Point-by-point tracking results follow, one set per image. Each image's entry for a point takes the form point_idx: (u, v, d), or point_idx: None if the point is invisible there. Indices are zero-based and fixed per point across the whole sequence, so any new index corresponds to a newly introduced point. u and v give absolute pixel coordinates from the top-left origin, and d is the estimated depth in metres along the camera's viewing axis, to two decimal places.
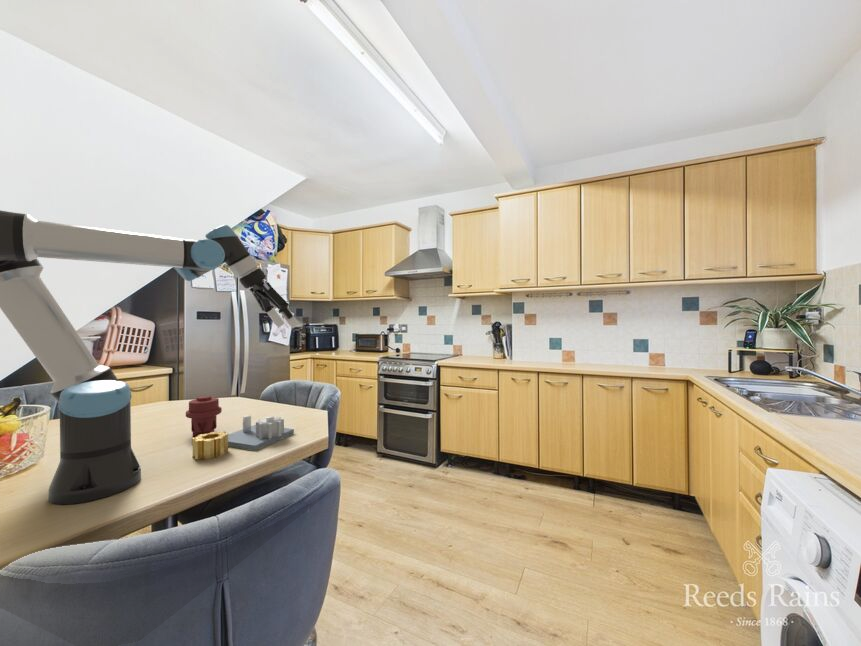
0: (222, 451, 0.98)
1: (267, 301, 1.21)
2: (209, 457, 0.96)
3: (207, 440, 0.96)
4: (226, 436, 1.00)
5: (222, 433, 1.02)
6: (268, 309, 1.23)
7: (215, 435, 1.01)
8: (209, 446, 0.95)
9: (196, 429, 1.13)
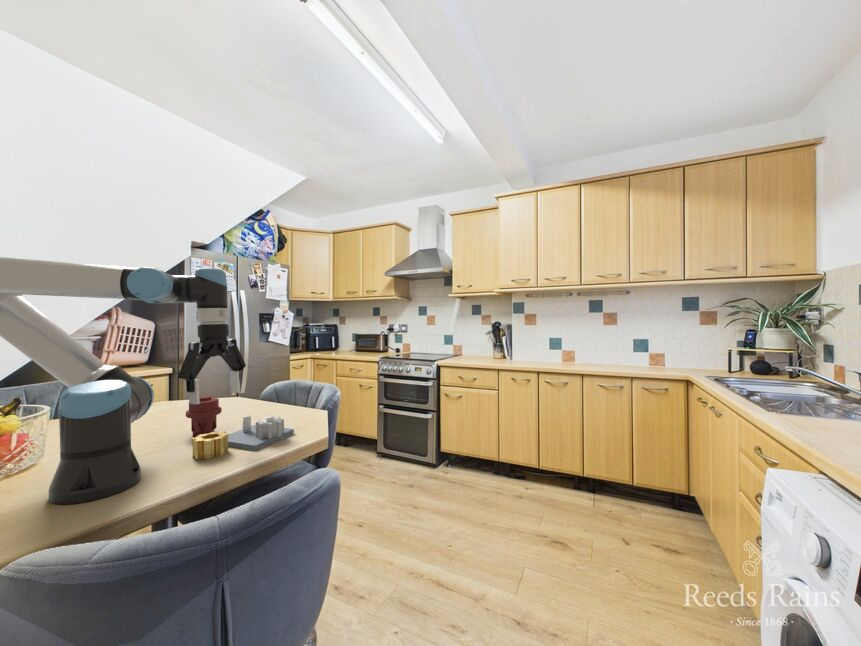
0: (222, 451, 0.98)
1: (229, 361, 1.04)
2: (209, 457, 0.96)
3: (207, 440, 0.96)
4: (226, 436, 1.00)
5: (222, 433, 1.02)
6: (234, 369, 1.07)
7: (215, 435, 1.01)
8: (209, 446, 0.95)
9: (196, 429, 1.13)
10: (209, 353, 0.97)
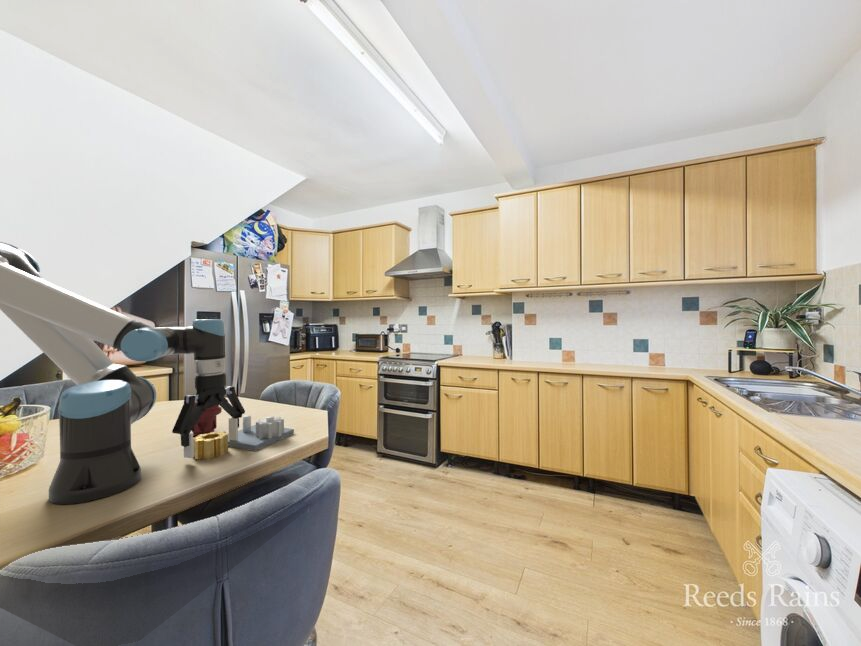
0: (222, 451, 0.98)
1: (227, 409, 1.04)
2: (209, 457, 0.96)
3: (207, 440, 0.96)
4: (226, 436, 1.00)
5: (222, 433, 1.02)
6: (233, 416, 1.06)
7: (215, 435, 1.01)
8: (209, 446, 0.95)
9: (196, 429, 1.13)
10: (205, 405, 0.96)
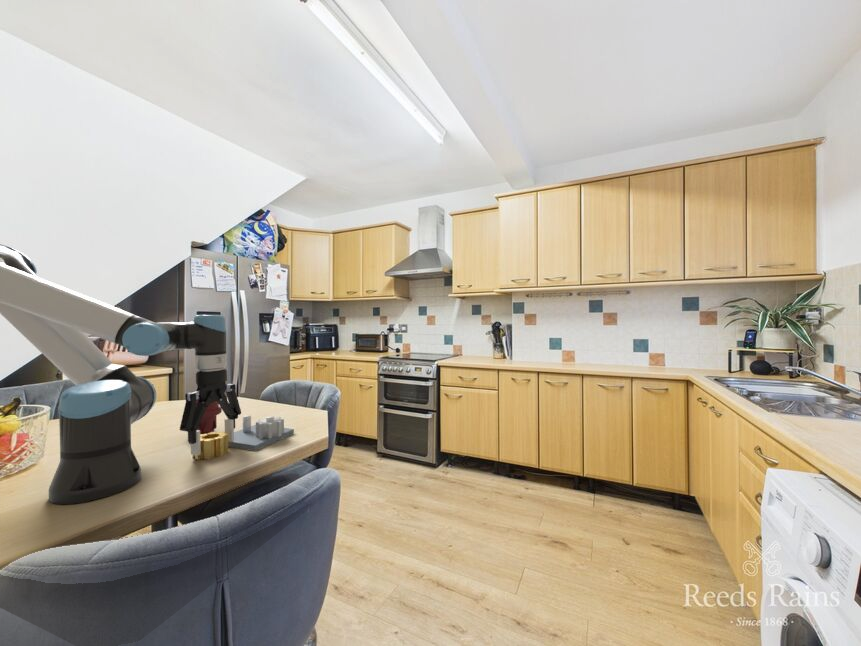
0: (222, 451, 0.98)
1: (225, 407, 1.03)
2: (209, 457, 0.96)
3: (207, 440, 0.96)
4: (226, 436, 1.01)
5: (222, 433, 1.02)
6: (229, 417, 1.05)
7: (215, 435, 1.01)
8: (209, 446, 0.96)
9: None
10: (207, 401, 0.96)
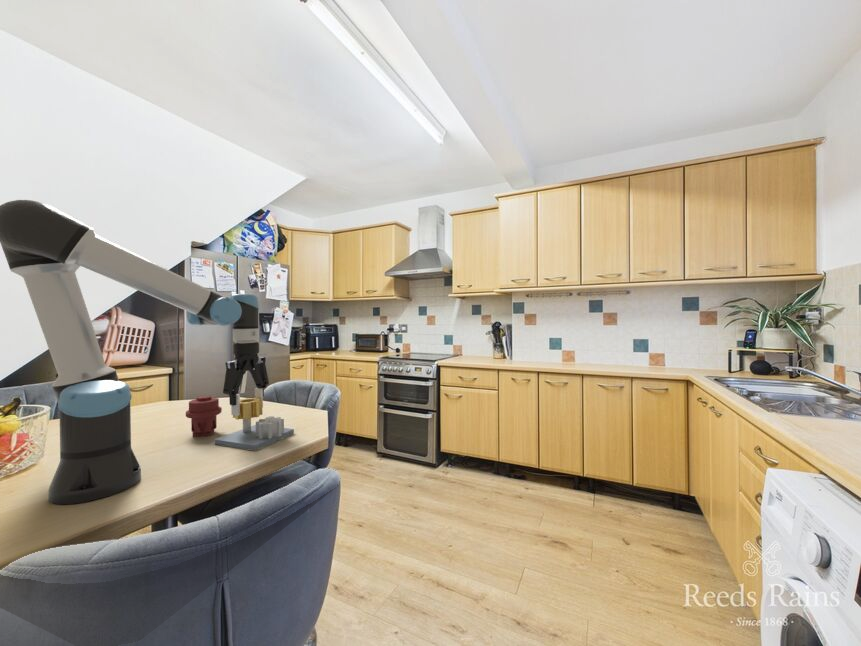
0: (258, 413, 1.13)
1: (256, 377, 1.17)
2: (247, 417, 1.11)
3: (245, 403, 1.11)
4: (261, 401, 1.16)
5: (257, 398, 1.17)
6: (259, 386, 1.19)
7: (251, 400, 1.16)
8: (247, 408, 1.11)
9: (196, 429, 1.13)
10: (244, 369, 1.11)
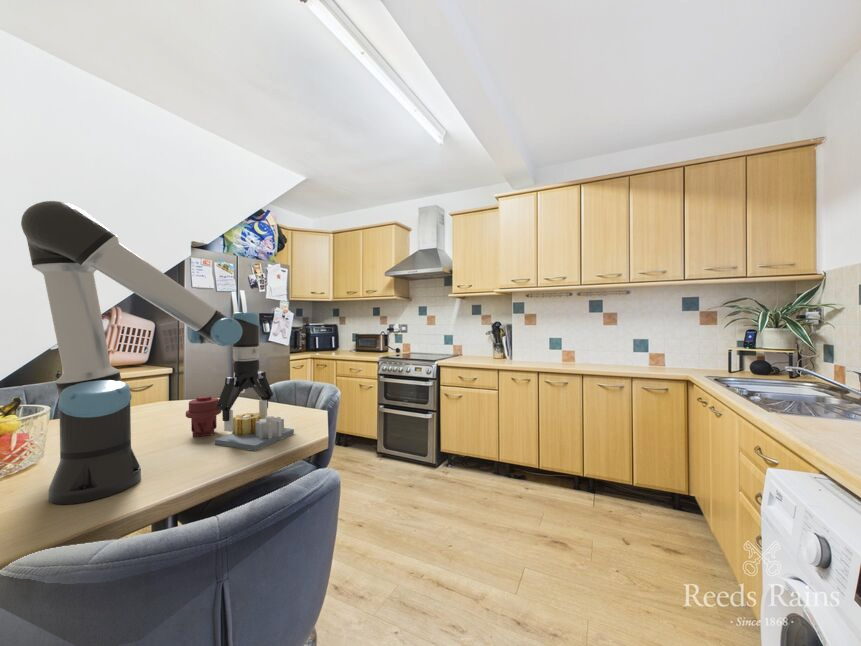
0: None
1: (259, 391, 1.18)
2: (247, 433, 1.11)
3: (245, 419, 1.11)
4: (260, 416, 1.16)
5: (257, 414, 1.17)
6: (263, 398, 1.21)
7: (251, 415, 1.16)
8: (247, 424, 1.11)
9: (196, 429, 1.13)
10: (242, 386, 1.11)
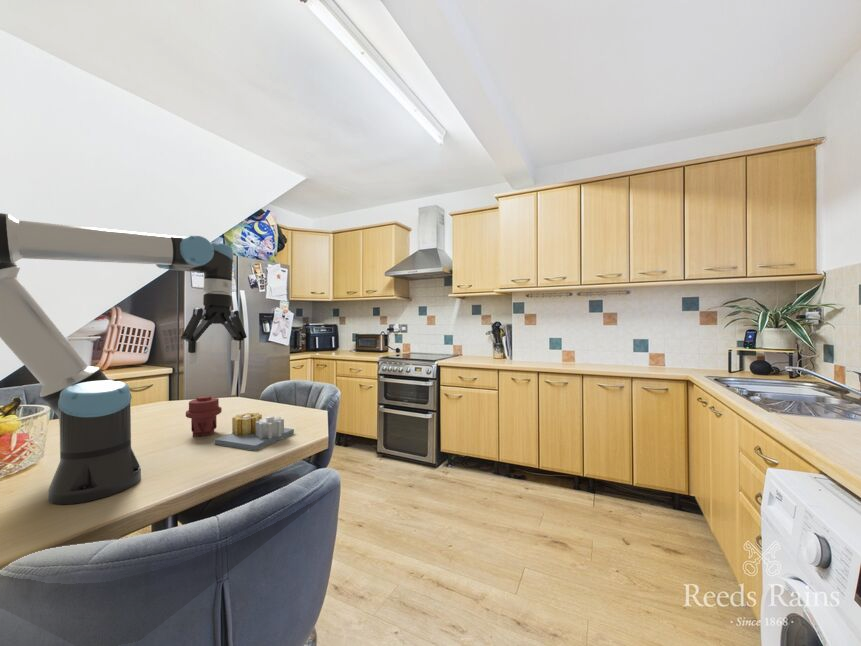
0: None
1: (231, 330, 1.13)
2: (247, 433, 1.11)
3: (245, 419, 1.11)
4: (260, 416, 1.16)
5: (257, 414, 1.17)
6: (235, 338, 1.16)
7: (251, 415, 1.16)
8: (247, 424, 1.11)
9: (196, 429, 1.13)
10: (211, 319, 1.06)
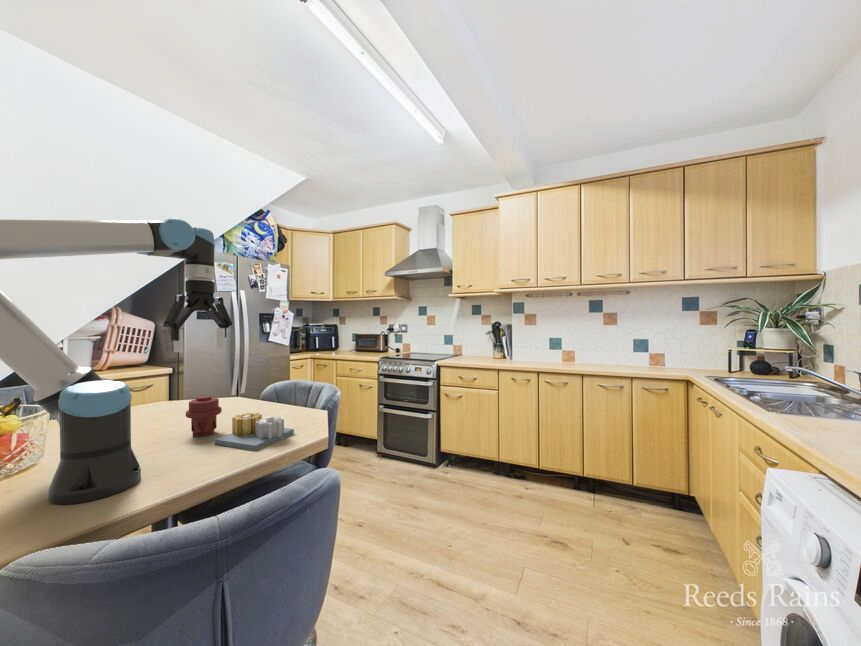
0: None
1: (215, 317, 1.11)
2: (247, 433, 1.11)
3: (245, 419, 1.11)
4: (260, 416, 1.16)
5: (257, 414, 1.17)
6: (221, 326, 1.14)
7: (251, 415, 1.16)
8: (247, 424, 1.11)
9: (196, 429, 1.13)
10: (194, 306, 1.03)
